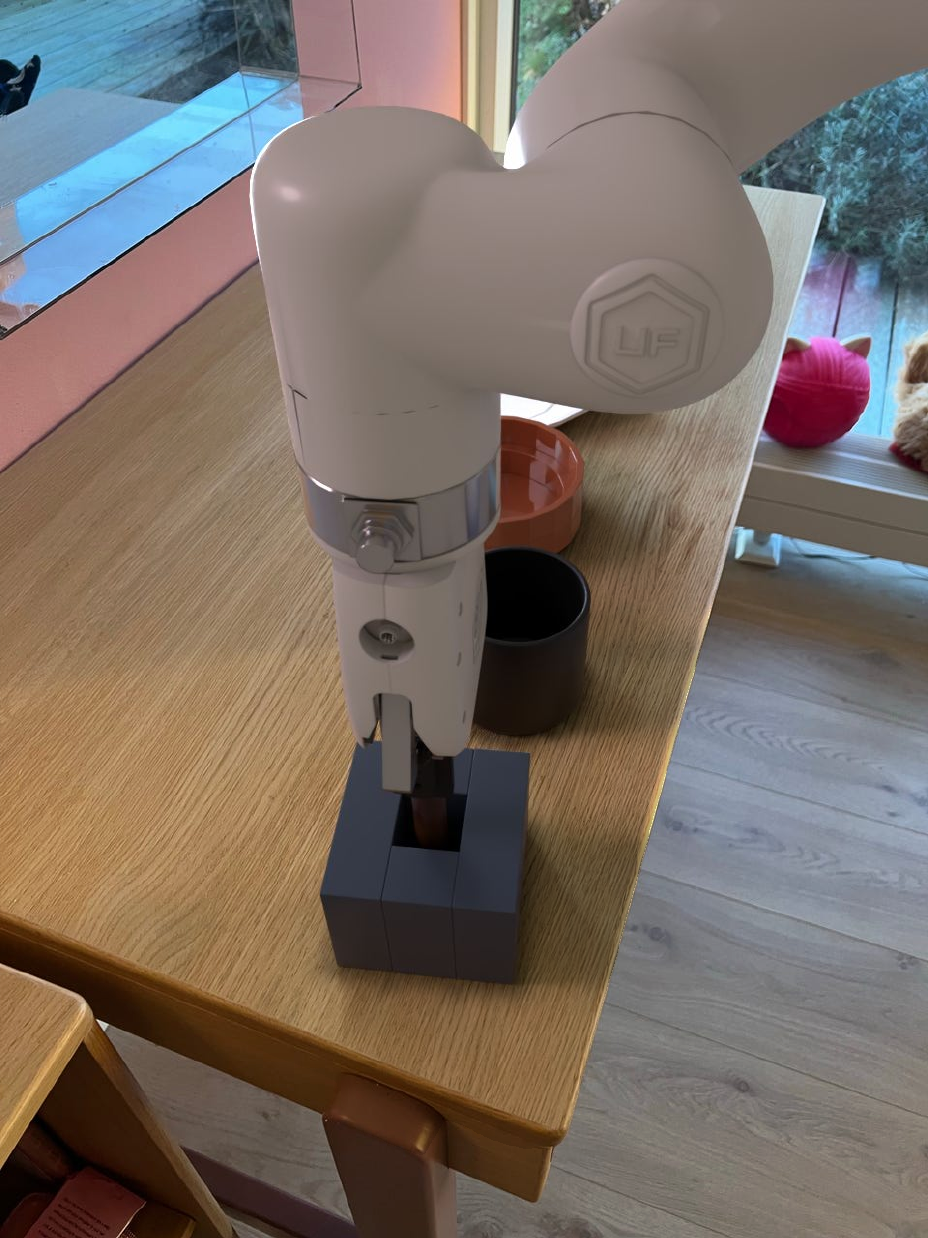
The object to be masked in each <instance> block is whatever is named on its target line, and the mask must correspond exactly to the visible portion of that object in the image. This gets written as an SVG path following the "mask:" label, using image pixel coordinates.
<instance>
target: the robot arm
mask: <svg viewBox="0 0 928 1238" xmlns="http://www.w3.org/2000/svg"><path fill="white" fill-rule="evenodd" d="M926 69H928V0H620V1H619V2H618V3H616V4H615V5H614V6H613V7H612V8H610V10H609V11H608V12H606V13H605V14H604V15H603V16H602V17H601V18H600V19H599V20H598V21H596V23H595V24H593V26H591V27H590V28H589V29H587V31H585V33H583V34H582V36H581V37H579V38H578V39H577V40H576V41H575V42H574V43H573V44H572V45H571V46H570V47H569V48H568V49H566V51H565V52H564V53H562V55H561V56H560V57H559V58H557V60H556V61H555V62H554V63H553V64H552V65H551V67H550V68H549V69H548V70H547V71H546V73H544V75H543V76H542V77H541V78H540V80H539V81H538V82H537V84H536V85H534V87H533V89H532V91H531V92H530V94H529V95H528V97H527V99H526V100H525V102H524V103H523V105H522V107H521V108H520V110H519V111H518V114H517V115H516V118H515V120H514V123H513V125H512V128H511V130H510V133H509V135H508V139H507V142H506V147H505V151H504V158H503V165H501V164H500V163H498V161H497V160H496V159H495V157H494V156H493V154H492V151H491V149H490V148H489V147H488V144H486V142H485V141H484V139H483V138H482V136H480V135H479V134H478V133H477V131H475V130H473V129H472V128H471V127H470V126H468V125H467V124H465V123H464V122H462V121H460V120H459V119H456V118H455V117H452V116H450V115H447V114H443V113H440V112H436V111H432V110H429V109H422V108H416V107H410V106H401V105H400V106H399V105H398V106H397V105H369V106H368V105H366V106H356V107H348V108H342V109H336V110H332V111H327V112H323V113H320V114H316V115H314V116H311V117H308V118H305V119H303V120H300V121H298V122H295V123H293V124H291V125H289V126H287V127H285V128H284V129H282V130H281V131H280V132H278V133H277V134H276V135H274V136H273V138H272V139H270V141H269V142H268V143H267V144H266V145H265V146H264V147H263V148H262V149H261V151H260V153H259V155H258V156H257V159H256V161H255V163H254V166H253V169H252V171H251V172H252V173H251V176H250V187H249V201H250V209H251V217H252V224H253V225H252V226H253V231H254V232H253V233H254V237H255V242H256V248H257V253H258V258H259V264H260V270H261V277H262V282H263V286H264V293H265V300H266V304H267V311H268V316H269V321H270V322H269V323H270V327H271V333H272V339H273V344H274V350H275V355H276V360H277V361H276V362H277V367H278V371H279V378H280V384H281V389H282V394H283V395H282V396H283V398H284V406H285V412H286V418H287V421H288V422H287V423H288V428H289V433H290V439H291V444H292V449H293V455H294V456H293V457H294V461H295V462H294V463H295V468H296V473H297V478H298V484H299V491H300V496H301V502H302V507H303V513H304V520H305V524H306V528H307V531H308V533H309V534H310V537H311V539H312V540H313V541H314V543H315V544H316V545H317V546H318V547H319V549H321V550H322V551H323V552H325V554H327V555H328V556H330V558H331V570H332V571H331V572H332V587H333V589H332V590H333V600H332V602H333V606H334V614H335V615H334V616H335V627H336V637H337V646H338V656H339V665H340V666H339V667H340V674H341V681H342V682H341V683H342V690H343V696H344V703H345V709H346V714H347V718H348V723H349V727H350V730H351V733H352V736H353V737H354V739H355V741H356V742H358V743H359V744H360V745H361V746H362V747H363V748H364V749H367V747H368V745H369V744H371V745H373V742H374V740H375V738H376V732H377V729H378V724H379V730H380V736H381V737H380V738H381V741H382V788H383V791H386V792H393V793H396V794H405V795H406V796H409V797H412V798H420V799H427V798H431V797H440V798H450V797H452V796H453V794H454V787H455V780H454V762H453V758H454V757H456V756H457V755H459V754H460V752H462V751H463V750H464V748H467V745H468V743H469V739H470V736H471V731H472V727H473V726H472V725H473V722H472V720H473V714H474V707H475V701H476V694H477V688H478V681H479V674H480V667H481V660H482V653H483V645H484V638H485V630H486V621H487V586H486V572H485V556H484V542H485V541H486V539H487V538H488V537H489V535H490V534H491V533H492V532H493V531H494V529H495V527H496V525H497V523H498V520H499V517H500V511H501V394H507V395H512V396H517V397H523V398H528V399H533V400H538V401H543V402H548V403H553V404H558V405H563V406H568V407H573V408H578V409H584V410H589V412H590V411H592V412H598V413H607V414H619V415H643V414H645V415H646V414H657V413H664V412H669V411H673V410H678V409H681V408H685V407H688V406H691V405H693V404H696V403H698V402H701V401H703V400H705V399H708V398H709V397H710V396H712V395H714V394H716V393H717V392H719V391H720V390H722V389H723V388H724V387H726V386H727V385H728V384H730V382H732V381H733V380H734V379H735V378H737V376H738V375H739V374H740V373H741V372H743V370H744V369H745V368H746V367H747V366H748V364H749V363H750V361H751V360H752V358H753V357H754V355H755V354H756V353H757V351H758V349H759V348H760V346H761V344H762V341H763V339H764V336H765V335H766V332H767V329H768V326H769V322H770V319H771V316H772V309H773V302H774V272H773V265H772V259H771V253H770V251H769V246H768V244H767V239H766V236H765V233H764V231H763V229H762V226H761V224H760V221H759V219H758V217H757V214H756V211H755V210H754V207H753V205H752V203H751V201H750V198H749V196H748V194H747V193H746V191H745V188H744V186H743V183H742V180H741V178H740V175H742V174H743V173H744V172H745V171H747V170H748V169H750V168H751V167H753V166H754V165H755V164H756V163H757V162H759V161H760V160H762V159H763V158H764V157H766V156H767V155H768V154H769V153H770V152H772V151H773V150H774V149H775V148H777V147H778V146H780V145H781V144H782V143H784V142H785V141H787V140H788V139H789V138H790V137H792V136H794V135H795V134H796V133H798V132H800V131H801V130H802V129H803V128H806V126H808V125H810V124H811V123H813V122H814V121H815V120H817V119H819V118H820V117H823V116H824V115H826V114H827V113H829V112H830V111H832V110H834V109H836V108H837V107H839V106H840V105H842V104H844V103H846V102H848V101H851V100H853V99H854V98H856V97H858V96H860V95H862V94H864V93H866V92H868V91H871V90H872V89H874V88H877V87H879V86H882V85H884V84H886V83H889V82H892V81H894V80H896V79H899V78H901V77H904V76H908V75H911V74H914V73H917V72H920V71H923V70H926Z"/></svg>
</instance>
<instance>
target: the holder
mask: <svg viewBox="0 0 928 1238" xmlns="http://www.w3.org/2000/svg"><path fill="white" fill-rule="evenodd" d="M353 750H354V751H353V753H352V758H351V762H350V767H349V771H348V775H347V780H346V784H345V788H344V792H343V796H342V799H341V804H340V807H339V812H338V816H337V820H336V824H335V828H334V833H333V836H332V841H331V844H330V849H329V853H328V857H327V859H326V861H327V862H326V865H325V869H324V873H323V877H322V881H321V885H320V889H319V899H320V902H321V906H322V910H323V914H324V919H325V922H326V926H327V931H328V934H329V939H330V942H331V946H332V950H333V953H334V957H335V962H336V966H338V967H343V968H352V969H353V968H354V969H364V970H373V971H381V972H390V973H391V972H394V973H400V974H411V975H421V976H429V977H438V978H439V977H440V978H446V979H447V978H449V979H457V980H466V981H476V982H487V983H496V984H505V985H514V984H515V978H516V977H515V976H516V967H517V966H516V965H517V955H518V952H517V951H518V943H519V932H520V920H521V912H522V911H521V909H522V897H523V886H524V876H525V875H524V874H525V864H526V863H525V862H526V855H527V854H526V853H527V851H526V850H527V841H528V829H529V828H528V827H529V826H528V825H529V804H530V803H529V801H530V800H529V799H530V795H529V794H530V776H531V775H530V773H531V752H525V751H514V750H502V749H501V750H500V749H488V748H472V747H465V748H464V750H463V751H462V752H460V754H459V755H457V756H456V757H454V758H453V762H454V780H455V787H454V794H453V796H452V797H450V798H446V808H447V824H448V839H449V851H441V850H430V849H419V848H417V847H416V838H415V829H414V819H413V810H412V801H411V797H409V796H406V795H405V794H396V793H393V792H386V791H383V788H382V740H376V739H374V742H373V745H371V744H369V745H368V747H367V749H364V748H363V747H362V746H361V745H360V744H359V743H358V742H357V741H356V742H355V746H354V749H353Z"/></svg>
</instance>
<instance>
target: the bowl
mask: <svg viewBox="0 0 928 1238" xmlns="http://www.w3.org/2000/svg"><path fill="white" fill-rule="evenodd" d="M584 474H585V460H584V458H583V457H582V454H581V451H580V450H579V447H578V445H577V444H576V443H575V442H573V441H572V440H571V439H570V438H569V437H568V436H567V435H565V434H564V432H563V431H560V430H558V429H557V428H555V427H554V428H552V427H550V426H548V425H546V424H544V423H542V422H539V421H535V420H531V419H526V418H522V417H518V416H505V415H501V511H500V517H499V520H498V523H497V525H496V527H495V529H494V531H493V532H492V533H491V534H490V535H489V537H488V538H487V539H486V541H485V542H484V551H486V550H489V549H494V548H498V547H505V546H529V547H536V548H541V549H544V550H548V551H551V552H553V553H556V554H558V553H559V552H560V551H562V550H563V549H565V548H566V547H567V546H568V545H570V544H571V542H572V541H573V539H574V537H575V535H576V534H577V532H578V530H579V528H580V526H581V516H582V503H583V491H584V477H585V475H584Z"/></svg>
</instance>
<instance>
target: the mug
mask: <svg viewBox="0 0 928 1238" xmlns="http://www.w3.org/2000/svg"><path fill="white" fill-rule="evenodd" d="M484 556H485V572H486V586H487V621H486V630H485V638H484V645H483V653H482V660H481V667H480V674H479V681H478V688H477V694H476V701H475V707H474V714H473V720H472V724H475V725H477V726H479V727H481V728H482V729H484V730H487V731H489V732H493V733H497V734H500V735H507V736H527V735H533V734H537V733H542V732H545V731H548V730H550V729H552V728H553V727H556V726H557V725H559V724H561V723H562V722H564V721H565V719H567V718H568V717H569V716H570V715H571V714H572V712H573V711H574V710H575V709H576V708H577V706H578V704H579V703H580V701H581V698H582V695H583V691H584V684H585V683H584V681H585V671H586V659H587V651H588V639H589V627H590V617H591V615H590V614H591V606H592V605H591V604H592V592H591V588H590V585H589V582H588V580H587V578H586V577H585V575H584V574H583V572H582V571H581V570H580V568H578V566H577V565H575V564H574V563H573V562H572V561H570V560H568V559H567V558H565V557H564V556H562V555H560V554H558V553H557V554H556V553H553V552H551V551H548V550H544V549H541V548H536V547H529V546H505V547H498V548H494V549H489V550H486V551H484Z"/></svg>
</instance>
